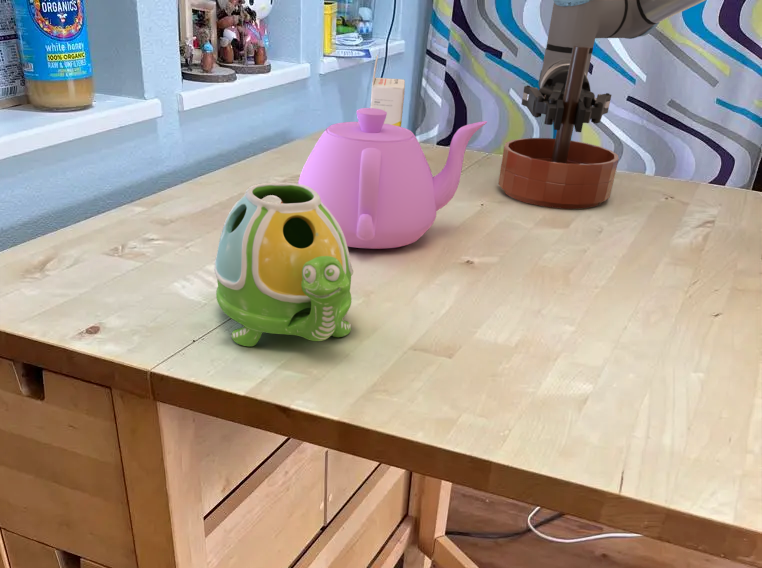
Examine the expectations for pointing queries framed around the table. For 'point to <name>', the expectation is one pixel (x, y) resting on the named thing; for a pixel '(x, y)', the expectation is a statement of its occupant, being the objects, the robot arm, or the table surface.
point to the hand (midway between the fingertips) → (569, 119)
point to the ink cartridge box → (388, 97)
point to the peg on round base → (570, 102)
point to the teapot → (381, 179)
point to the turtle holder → (283, 266)
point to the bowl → (557, 173)
